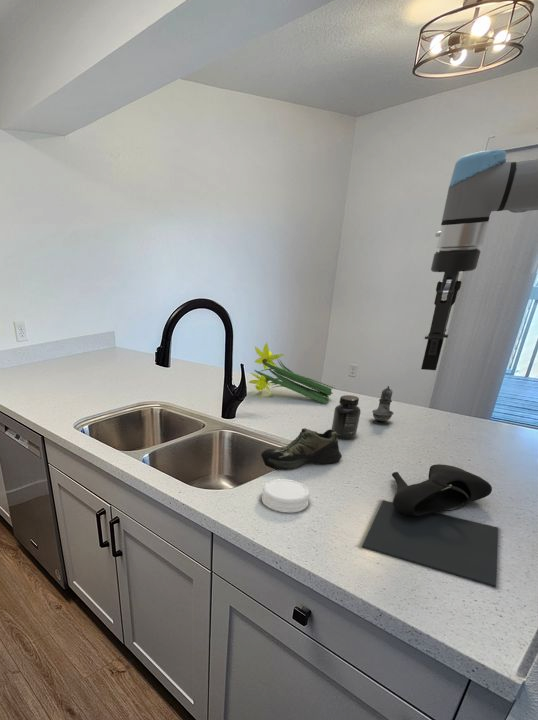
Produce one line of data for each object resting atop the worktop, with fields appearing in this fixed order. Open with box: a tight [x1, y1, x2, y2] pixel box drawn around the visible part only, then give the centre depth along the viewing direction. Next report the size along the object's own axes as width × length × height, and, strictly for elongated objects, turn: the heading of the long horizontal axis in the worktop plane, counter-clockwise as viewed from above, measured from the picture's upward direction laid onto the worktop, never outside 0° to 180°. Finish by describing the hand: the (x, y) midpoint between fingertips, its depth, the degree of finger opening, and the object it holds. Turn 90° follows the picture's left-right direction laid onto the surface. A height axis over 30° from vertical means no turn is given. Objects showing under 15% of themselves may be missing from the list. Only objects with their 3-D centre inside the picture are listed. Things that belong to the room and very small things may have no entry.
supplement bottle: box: [330, 394, 361, 441], centre depth 127 cm, size 7×7×12 cm
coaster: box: [261, 478, 311, 514], centre depth 97 cm, size 10×10×4 cm
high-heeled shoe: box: [391, 463, 493, 516], centre depth 91 cm, size 8×19×20 cm
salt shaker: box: [371, 385, 394, 426], centre depth 135 cm, size 6×6×12 cm
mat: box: [361, 499, 499, 588], centre depth 83 cm, size 20×20×1 cm
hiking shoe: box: [260, 427, 343, 471], centre depth 114 cm, size 8×21×9 cm, turn 99°
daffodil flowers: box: [247, 342, 336, 405], centre depth 165 cm, size 17×15×35 cm
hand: (428, 369), depth 96 cm, fingers closed
